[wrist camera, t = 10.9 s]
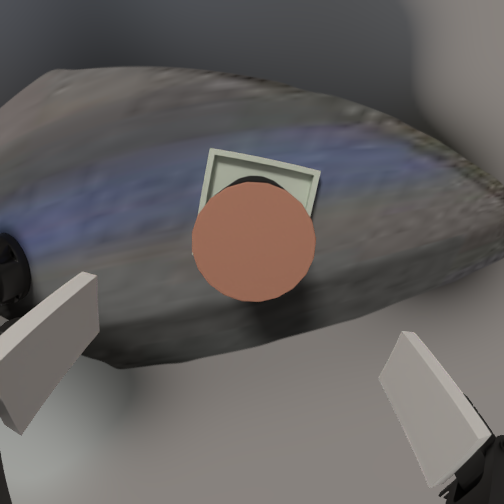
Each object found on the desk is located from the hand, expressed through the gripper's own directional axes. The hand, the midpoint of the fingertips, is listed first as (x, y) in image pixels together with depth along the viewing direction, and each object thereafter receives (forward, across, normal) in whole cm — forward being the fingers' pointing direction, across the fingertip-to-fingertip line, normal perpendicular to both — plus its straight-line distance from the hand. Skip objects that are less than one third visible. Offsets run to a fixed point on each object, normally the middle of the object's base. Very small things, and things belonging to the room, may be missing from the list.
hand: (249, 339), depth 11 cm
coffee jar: (+32, 0, 0) cm, 32 cm away
